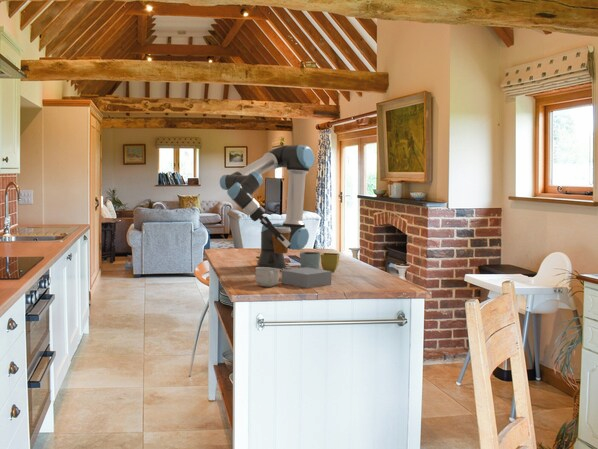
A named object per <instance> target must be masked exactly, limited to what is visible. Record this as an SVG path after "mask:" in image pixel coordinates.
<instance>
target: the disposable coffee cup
mask: <svg viewBox="0 0 598 449" xmlns="http://www.w3.org/2000/svg"><path fill="white" fill-rule="evenodd" d="M275 228H276V229H277V231H278V232H280V233H281V234H282V235H283V236H284V237H285V238H286V239H287V240H288V241H289V237H290V232H291V229H290V227H275ZM272 237H273V246H274V253H281V254H283V255H284V254H287V253H288V250H289V249H288V247H287V248H286V247H285V246H284V245H283V243H282V242H281V241H280V240H279V239H278V238H275V235H274V234H273V233H272Z"/></svg>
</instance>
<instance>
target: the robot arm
mask: <svg viewBox="0 0 598 449" xmlns="http://www.w3.org/2000/svg"><path fill="white" fill-rule="evenodd" d="M314 165H315V154H314V152H313V150H312V149H311V147H309V145H305V144H304V145H303V144H298V145H295V144H294V145H293V144H291V145H290V144H288V145H287V144H286V145H285V144H284V145H280V146H278V147H274V148H273V149H271V150H269V151H267V152H265V153H264V154H263V155H262V157H261V158H258V159H257V160H255V161H253V162H251V163H249V164H248V165H246V166H244V167H242V168H239V170H236V171H235V172H233V173H231V174H223V175H222V176H221V177H220V179H219V186H220V188H221V189H222V190H223V191H227V192H226V193H227V195H228V197H229V198H230V199H231V200H232V201H233V202H234V203H235V204H236V205H237V206H238V207H239V208H241V210H243V212H242V213H243V214H246V215H247V216H249V218H250V220H252V221H253V222H257V221H258V220H259V223H260V224H261V231H260V236H261V237H260V255H259V256H258V260H257V262H256V263H257V267H270V268H277V269H282V268H286V264H287V262H286V261H285V256H284V253H283V254H281V253H274V246H273V237H272V233H273V234H274V235H275V238H278V239H279V240H280V241H281V242H282V243H283V245H284V246H285V247H286V248H287V247H288V250H292V251H295V250H298V251H299V250H303V249H304V248H305V247H306V245H307V244H308V242H309V238H310V234H309V231H308V229H307V228H306V224H305V222H303V217H304V216H303V214H304V203H305V191H306V190H305V189H306V188H305V186H306V175H307V174H309V172H310V169H311V168H312V167H313V166H314ZM278 168H279V169H281V168H286V172H287V173H288V186H287V201H286V214H285V220H284V221H283V222H278V223H272V221H271V220H270V219H269V218H268V216H266V215H264V214H265V212H266V209H265V208H264V207H263V206H262V205H260V203H259V202H258V201H257V199H256V198H254V197H253V196H252V195H253V194H254V193H255V192H256V191H257V190H258V189H259V188H260V186H261V185H262V184H263V183H264V178H263V174H265V173H267V172H269V171H273V170H276V169H278ZM275 227H290V229H291V232H290V237H289V241H288V240H287V239H286V238H285V237H284V236H283V235H282V234H281V233H280V232H278V231H277V229H276V228H275Z"/></svg>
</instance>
